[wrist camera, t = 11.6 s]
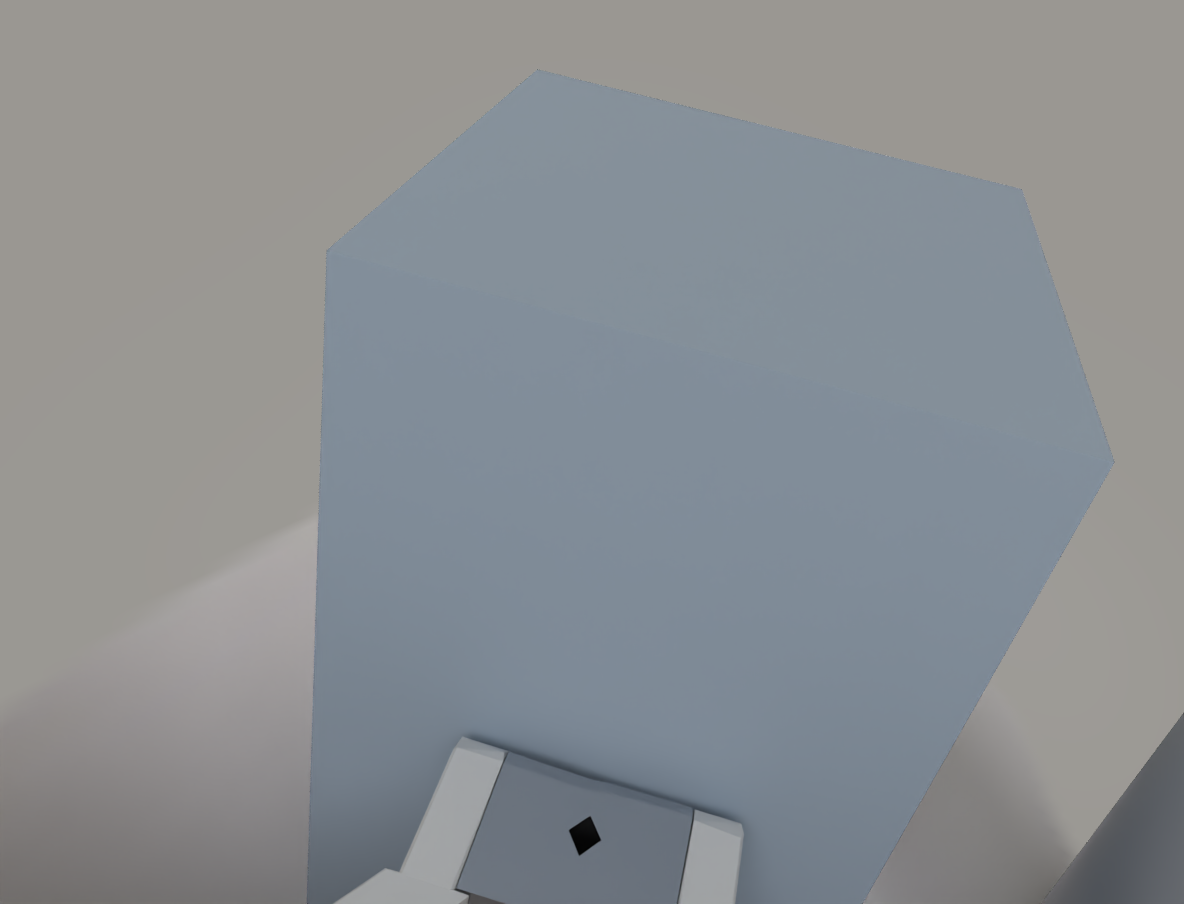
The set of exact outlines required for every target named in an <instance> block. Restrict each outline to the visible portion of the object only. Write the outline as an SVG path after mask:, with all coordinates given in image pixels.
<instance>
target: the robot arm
mask: <svg viewBox="0 0 1184 904" xmlns="http://www.w3.org/2000/svg"><path fill="white" fill-rule="evenodd" d="M743 838H744V832H743V828H742V824H741V823H739V822H735V821H732V820H729V819H725V818H722V817H719V816H715V815H712V814H709V813H705V812H702V811H699V810H693V811H692V807H690V806H687V805H683V804H680V803H677V802H673V801H670V800H666V799H663V798H660V797H656V796H653V795H649V794H646V793H643V792H639V791H636V790H632V789H629V788H626V787H622V786H619V785H615V784H612V783H609V782H605V781H602V780H600V782H598V781H595V780H592V779H589V778H586V777H583V776H580V775H577V774H574V773H571V772H568V771H565V770H562V769H559V768H556V767H554V766H551V765H548V764H545V763H542V762H539V761H536V760H533V759H530V758H527V757H524V756H521V755H518V754H515V753H512V752H509V751H507V750H503V749H500V748H497V747H494V746H491V745H488V744H484V743H481V742H478V741H475V740H472V739H469V738H466V737H462V738H461V739H460V740H459V742H458V743H457V745H456V746H455V747H454V749H453V751H452V753H451V755H450V758H449V760H448V762H447V764H446V767H445V769H444V771H443V774H442V776H441V778H440V780H439V783H438V785H437V787H436V789H435V792H434V794H433V796H432V799H431V801H430V803H429V805H428V808H427V810H426V812H425V814H424V817H423V819H422V821H421V824H420V826H419V828H418V830H417V833H416V835H415V837H414V839H413V842H412V844H411V846H410V849H409V851H408V853H407V855H406V858H405V860H404V862H403V864H402V867H401V869H400V871H399V872H398V871H394V870H391V869H387V868H384V869H383V870H382V871H380V872H379V873H377V874H376V875H374V876H373V877H371V878H370V879H368V880H367V881H365V882H364V883H362V884H361V885H360V886H358V887H357V888H355V889H354V890H352V891H351V892H349V893H348V894H346V895H345V896H343V897H342V898H340V899H339V900H337V901H336V902H335V903H333V904H735V901H736V893H737V885H738V877H739V869H740V861H741V854H742V846H743Z"/></svg>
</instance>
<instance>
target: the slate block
mask: <svg viewBox="0 0 1184 904" xmlns="http://www.w3.org/2000/svg"><path fill="white" fill-rule="evenodd" d="M326 259H327V260H326V292H325V323H324V324H325V325H324V357H323V390H322V425H321V454H320V488H319V520H318V553H317V586H316V619H315V651H314V684H313V717H312V750H311V783H310V816H309V849H308V881H307V904H333V903H335V902H336V901H337V900H339V899H340V898H342V897H343V896H345V895H346V894H348V893H349V892H351V891H352V890H354V889H355V888H357V887H358V886H360V885H361V884H362V883H364V882H365V881H367V880H368V879H370V878H371V877H373V876H374V875H376V874H377V873H379V872H380V871H382V870H383V869H384V868H387V869H391V870H394V871H398V872H399V871H400V869H401V867H402V864H403V862H404V860H405V858H406V855H407V853H408V851H409V849H410V846H411V844H412V842H413V839H414V837H415V835H416V833H417V830H418V828H419V826H420V824H421V821H422V819H423V817H424V814H425V812H426V810H427V808H428V805H429V803H430V801H431V799H432V796H433V794H434V792H435V789H436V787H437V785H438V783H439V780H440V778H441V776H442V774H443V771H444V769H445V767H446V764H447V762H448V760H449V758H450V755H451V753H452V751H453V749H454V747H455V746H456V745H457V743H458V742H459V740H460V739H461V738H462V737H466V738H469V739H472V740H475V741H478V742H481V743H484V744H488V745H491V746H494V747H497V748H500V749H503V750H507V751H509V752H512V753H515V754H518V755H521V756H524V757H527V758H530V759H533V760H536V761H539V762H542V763H545V764H548V765H551V766H554V767H556V768H559V769H562V770H565V771H568V772H571V773H574V774H577V775H580V776H583V777H586V778H589V779H592V780H595V781H598V782H600V780H602V781H605V782H609V783H612V784H615V785H619V786H622V787H626V788H629V789H632V790H636V791H639V792H643V793H646V794H649V795H653V796H656V797H660V798H663V799H666V800H670V801H673V802H677V803H680V804H683V805H687V806H690V807H692V811H693V810H699V811H702V812H705V813H709V814H712V815H715V816H719V817H722V818H725V819H729V820H732V821H735V822H739V823H741V824H742V828H743V832H744V838H743V846H742V854H741V861H740V869H739V877H738V885H737V893H736V901H735V904H863V902H864V900H865V898H866V897H867V895H868V893H869V891H870V890H871V888H872V886H873V884H874V883H875V881H876V879H877V877H878V876H879V874H880V872H881V870H882V869H883V867H884V865H885V863H886V862H887V860H888V858H889V856H890V855H891V853H892V851H893V849H894V848H895V846H896V844H897V842H898V841H899V839H900V837H901V835H902V834H903V832H904V830H905V828H906V826H907V825H908V823H909V821H910V819H911V818H912V816H913V814H914V812H915V811H916V809H917V807H918V805H919V804H920V802H921V800H922V798H923V797H924V795H925V793H926V791H927V790H928V788H929V786H930V784H931V783H932V781H933V779H934V777H935V776H936V774H937V772H938V770H939V769H940V767H941V765H942V763H943V762H944V760H945V758H946V756H947V755H948V753H949V751H950V749H951V748H952V746H953V744H954V742H955V741H956V739H957V737H958V735H959V734H960V732H961V730H962V728H963V727H964V725H965V723H966V721H967V720H968V718H969V716H970V714H971V713H972V711H973V709H974V707H975V706H976V704H977V702H978V700H979V699H980V697H981V695H982V693H983V692H984V690H985V688H986V686H987V685H988V683H989V681H990V679H991V678H992V676H993V674H994V672H995V671H996V669H997V667H998V665H999V664H1000V662H1001V660H1002V658H1003V657H1004V655H1005V653H1006V651H1007V650H1008V648H1009V646H1010V644H1011V642H1012V641H1013V639H1014V637H1015V636H1016V634H1017V632H1018V630H1019V629H1020V627H1021V625H1022V623H1023V621H1024V620H1025V618H1026V616H1027V615H1028V613H1029V611H1030V609H1031V608H1032V606H1033V604H1034V602H1035V601H1036V599H1037V597H1038V595H1039V594H1040V592H1041V590H1042V588H1043V587H1044V585H1045V583H1046V581H1047V580H1048V578H1049V576H1050V574H1051V572H1052V571H1053V569H1054V567H1055V566H1056V564H1057V562H1058V560H1059V558H1060V557H1061V555H1062V553H1063V552H1064V550H1065V548H1066V546H1067V545H1068V543H1069V541H1070V539H1071V538H1072V536H1073V534H1074V532H1075V530H1076V529H1077V527H1078V525H1079V524H1080V522H1081V520H1082V518H1083V516H1084V515H1085V513H1086V511H1087V509H1088V508H1089V506H1090V504H1091V502H1092V501H1093V499H1094V497H1095V495H1096V494H1097V492H1098V490H1099V488H1100V487H1101V485H1102V483H1103V481H1104V480H1105V478H1106V476H1107V474H1108V472H1109V471H1110V469H1111V467H1112V466H1113V464H1114V459H1113V456H1112V453H1111V450H1110V447H1109V445H1108V442H1107V439H1106V436H1105V433H1104V430H1103V427H1102V424H1101V421H1100V418H1099V415H1098V412H1097V409H1096V406H1095V403H1094V400H1093V397H1092V395H1091V392H1090V389H1089V386H1088V383H1087V380H1086V377H1085V374H1084V371H1083V368H1082V365H1081V362H1080V359H1079V356H1078V353H1077V350H1076V347H1075V344H1074V341H1073V338H1072V335H1071V333H1070V330H1069V327H1068V324H1067V321H1066V318H1065V315H1064V312H1063V309H1062V306H1061V303H1060V300H1059V297H1058V294H1057V291H1056V289H1055V285H1054V282H1053V280H1052V277H1051V274H1050V271H1049V268H1048V265H1047V262H1046V259H1045V256H1044V253H1043V250H1042V247H1041V244H1040V241H1039V238H1038V235H1037V232H1036V229H1035V226H1034V224H1033V221H1032V218H1031V215H1030V212H1029V209H1028V206H1027V203H1026V200H1025V197H1024V194H1023V191H1022V189H1018V188H1015V187H1011V186H1007V185H1003V184H999V183H995V182H990V181H986V180H982V179H978V178H974V177H970V176H966V175H962V174H958V173H954V172H950V171H946V170H942V169H938V168H934V167H930V166H926V165H922V164H918V163H914V162H909V161H906V160H901V159H898V158H894V157H889V156H885V155H881V154H877V153H873V152H869V151H865V150H861V149H857V148H853V147H849V146H845V145H841V144H837V143H833V142H829V141H825V140H821V139H817V138H812V137H809V136H805V135H801V134H797V133H792V132H788V131H784V130H780V129H776V128H772V127H768V126H764V125H760V124H756V123H752V122H748V121H744V120H740V119H736V118H732V117H728V116H724V115H719V114H715V113H712V112H707V111H703V110H699V109H695V108H691V107H687V106H683V105H679V104H675V103H671V102H667V101H663V100H659V99H655V98H651V97H647V96H643V95H638V94H635V93H631V92H627V91H623V90H619V89H614V88H610V87H607V86H602V85H598V84H594V83H590V82H586V81H582V80H578V79H574V78H570V77H566V76H562V75H558V74H554V73H550V72H546V71H541V70H538V69H537V70H536V71H535V72H534V73H533V74H532V75H530V76H529V77H528V78H527V79H526V80H525V81H524V82H522V83H521V84H520V85H519V86H518V87H516V88H515V89H514V90H513V91H512V92H511V93H509V94H508V95H507V96H506V97H505V98H504V99H502V100H501V101H500V102H499V103H498V104H497V105H496V106H494V107H493V108H492V109H491V110H490V111H489V112H487V113H486V114H485V115H484V116H483V117H481V118H480V119H479V120H478V121H477V122H476V123H474V124H473V125H472V126H471V127H470V128H469V129H468V130H466V131H465V132H464V133H463V134H462V135H460V137H458V138H457V139H456V140H455V141H453V142H452V143H451V144H450V145H449V146H448V147H446V148H445V149H444V150H443V151H442V152H441V153H440V154H438V155H437V156H436V157H435V158H434V159H433V160H431V161H430V162H429V163H428V164H427V165H426V166H424V167H423V168H422V169H421V170H420V171H419V172H418V173H416V174H415V175H414V176H413V177H412V178H410V179H409V180H408V181H407V182H406V183H405V184H403V185H402V186H401V187H400V188H399V189H398V190H396V191H395V192H394V193H393V194H392V195H391V196H389V197H388V198H387V199H386V200H385V201H384V202H383V203H381V204H380V205H379V206H378V207H377V208H375V209H374V210H373V211H372V212H371V213H370V214H368V215H367V216H366V217H365V218H364V219H363V220H361V221H360V222H359V223H358V224H357V225H356V226H354V227H353V228H352V229H351V230H350V231H349V232H347V233H346V234H345V235H344V236H343V237H342V238H340V239H339V240H338V241H337V242H336V243H335V244H334V245H332V246H331V247H330V248H329V249H328V250H327V257H326Z"/></svg>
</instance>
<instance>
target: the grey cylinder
mask: <svg viewBox="0 0 1184 904" xmlns="http://www.w3.org/2000/svg"><path fill="white" fill-rule="evenodd" d="M1041 904H1184V713H1183V715H1182V716H1181V717H1180V719H1179V720H1178V721H1177V723H1176V724H1175V725H1174V727H1173V728H1172V729H1171V731H1170V732H1169V733H1168V735H1167V736H1166V737H1165V739H1164V740H1163V741H1162V743H1161V744H1160V745H1159V747H1158V748H1157V750H1156V751H1155V752H1154V753H1153V755H1152V756H1151V757H1150V759H1149V760H1148V761H1147V763H1146V764H1145V766H1144V767H1143V768H1142V769H1141V771H1140V772H1139V774H1138V775H1137V776H1136V778H1135V779H1134V780H1133V781H1132V783H1131V784H1130V785H1129V787H1128V788H1127V790H1126V791H1125V792H1124V794H1123V795H1122V796H1121V798H1120V799H1119V800H1118V802H1117V803H1116V804H1115V806H1114V807H1113V808H1112V810H1111V811H1110V812H1109V814H1108V815H1107V816H1106V818H1105V819H1104V820H1103V822H1102V823H1101V824H1100V826H1099V827H1098V829H1097V830H1096V831H1095V833H1094V834H1093V835H1092V836H1091V838H1090V839H1089V840H1088V842H1087V843H1086V844H1085V846H1084V847H1083V848H1082V850H1081V851H1080V852H1079V854H1078V855H1077V856H1076V858H1075V859H1074V860H1073V862H1072V863H1071V864H1070V866H1069V867H1068V868H1067V870H1066V871H1065V873H1064V874H1063V875H1062V877H1061V878H1060V879H1059V881H1058V882H1057V883H1056V885H1055V886H1054V887H1053V889H1052V890H1051V891H1050V893H1049V894H1048V895H1047V897H1046V898H1045V899H1044V901H1043V902H1042V903H1041Z"/></svg>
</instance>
